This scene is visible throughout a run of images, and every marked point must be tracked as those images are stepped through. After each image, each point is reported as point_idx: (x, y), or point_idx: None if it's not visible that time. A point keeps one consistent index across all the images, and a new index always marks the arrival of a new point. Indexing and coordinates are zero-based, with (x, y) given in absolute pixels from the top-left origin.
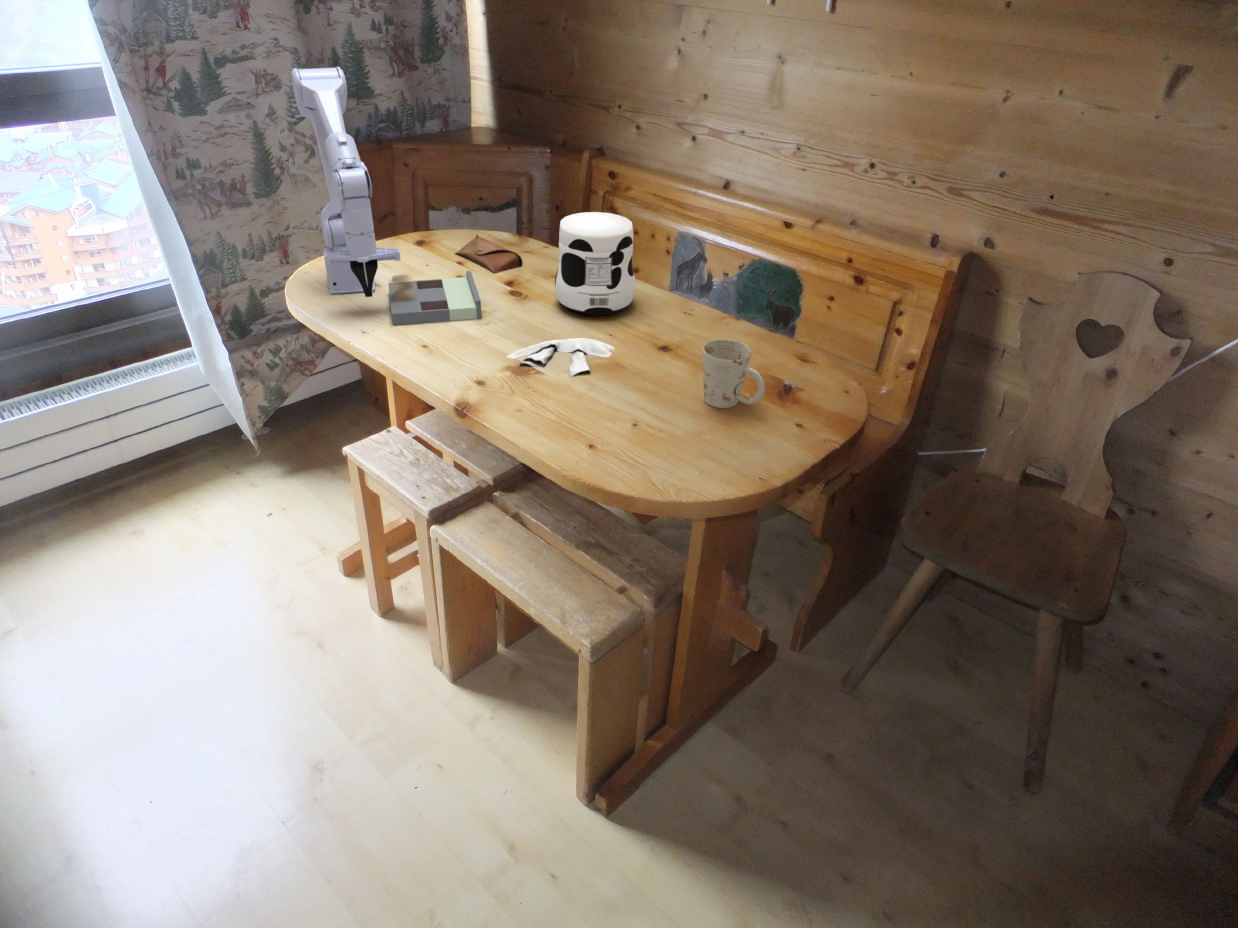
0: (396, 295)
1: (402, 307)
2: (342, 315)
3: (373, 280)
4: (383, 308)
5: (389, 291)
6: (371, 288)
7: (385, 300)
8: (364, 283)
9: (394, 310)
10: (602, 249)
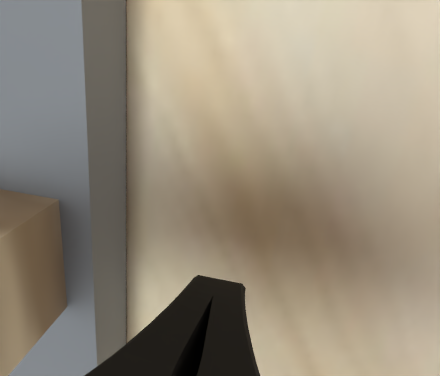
0: (17, 214)
1: (1, 64)
2: (412, 239)
3: (101, 364)
4: (166, 247)
5: (93, 343)
6: (169, 311)
7: None
8: (214, 366)
9: (57, 22)
10: None
